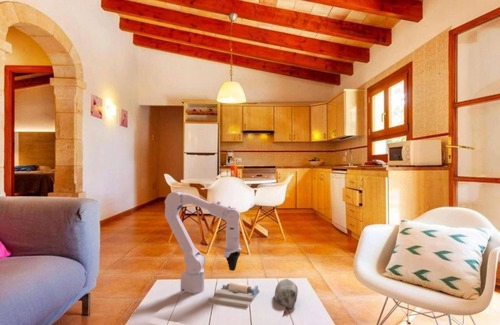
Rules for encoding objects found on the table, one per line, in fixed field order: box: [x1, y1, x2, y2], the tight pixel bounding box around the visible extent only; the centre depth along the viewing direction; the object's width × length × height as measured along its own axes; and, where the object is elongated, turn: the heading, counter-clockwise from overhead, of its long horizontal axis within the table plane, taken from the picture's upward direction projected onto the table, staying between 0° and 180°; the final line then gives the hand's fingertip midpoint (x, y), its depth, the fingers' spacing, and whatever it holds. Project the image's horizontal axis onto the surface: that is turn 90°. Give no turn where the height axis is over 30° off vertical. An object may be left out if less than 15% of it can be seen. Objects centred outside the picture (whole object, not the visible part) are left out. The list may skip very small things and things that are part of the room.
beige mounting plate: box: [206, 284, 260, 310], centre depth 120 cm, size 16×18×4 cm
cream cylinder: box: [226, 282, 252, 294], centre depth 124 cm, size 10×4×4 cm, turn 72°
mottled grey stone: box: [274, 278, 299, 310], centre depth 118 cm, size 14×10×10 cm
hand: (232, 270), depth 126 cm, fingers closed
